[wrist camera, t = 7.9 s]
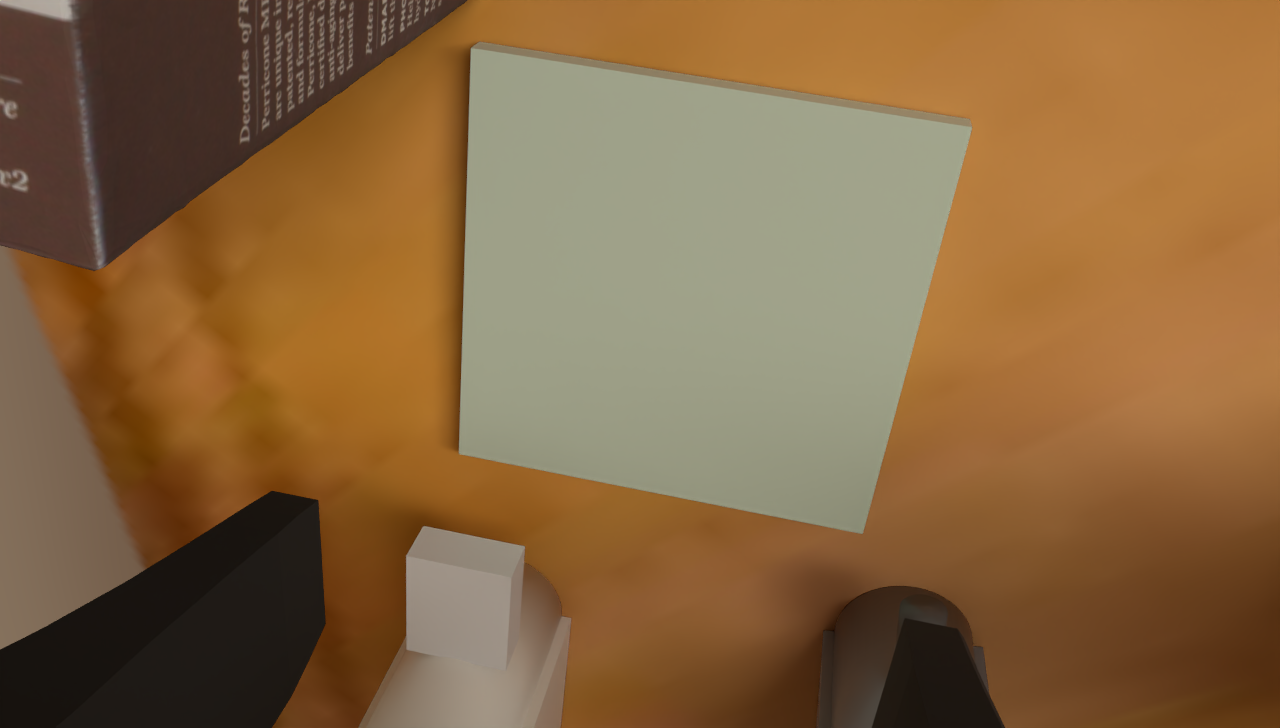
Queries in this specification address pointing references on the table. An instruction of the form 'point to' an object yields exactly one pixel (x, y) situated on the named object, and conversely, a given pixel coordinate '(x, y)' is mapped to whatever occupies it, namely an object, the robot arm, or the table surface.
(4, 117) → the box
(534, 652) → the white plug
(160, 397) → the table surface
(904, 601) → the charcoal plug
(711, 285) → the sage pad
